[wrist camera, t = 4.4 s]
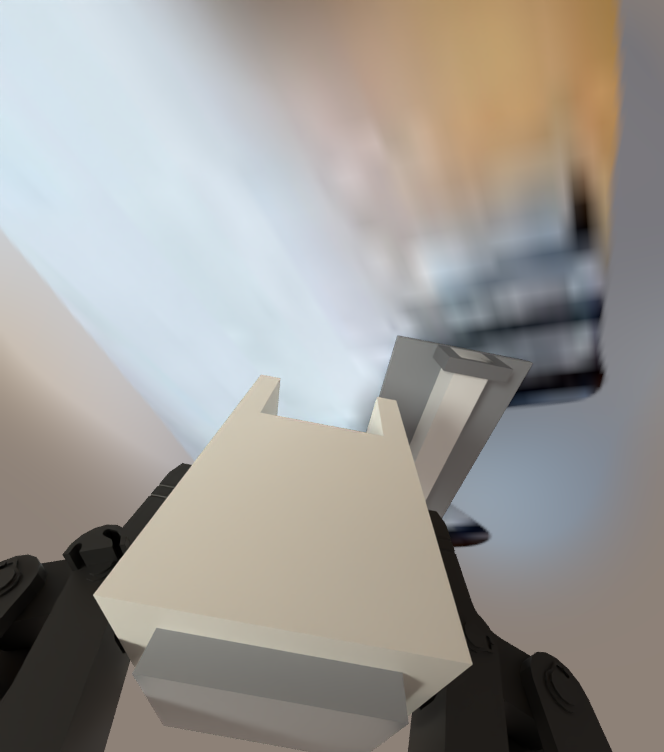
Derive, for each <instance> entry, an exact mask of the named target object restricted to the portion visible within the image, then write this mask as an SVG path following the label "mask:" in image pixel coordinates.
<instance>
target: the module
mask: <svg viewBox="0 0 664 752" xmlns="http://www.w3.org/2000/svg"><path fill="white" fill-rule="evenodd" d="M279 388H280V378H276V377H271V376H265V375H260V377H259V378H258V379H257V381H256V382H255V383H254V384H253V386H252V387H251V388H250V390H249V391H248V392H247V394H246V395H245V396H244V398H243V399H242V400H241V402H240V403H239V404H238V405H237V407H236V408H235V409H234V411H233V412H232V413H231V415H230V416H229V417H228V419H227V420H226V421H225V423H224V424H223V425H222V426H221V428H220V429H219V430H218V432H217V433H216V434H215V436H214V437H213V438H212V440H211V441H210V442H209V444H208V445H207V446H206V447H205V449H204V450H203V451H202V453H201V454H200V455H199V457H198V458H197V459H196V461H195V462H194V463H193V465H192V466H191V467H190V468H189V470H188V471H187V472H186V474H185V475H184V476H183V478H182V479H181V480H180V482H179V483H178V484H177V486H176V487H175V488H174V489H173V491H172V492H171V493H170V495H169V496H168V497H167V499H166V500H165V501H164V503H163V504H162V505H161V507H160V508H159V509H158V510H157V512H156V513H155V514H154V516H153V517H152V518H151V520H150V521H149V522H148V524H147V525H146V526H145V528H144V529H143V530H142V531H141V533H140V534H139V535H138V537H137V538H136V539H135V541H134V542H133V543H132V545H131V546H130V547H129V549H128V550H127V551H126V552H125V554H124V555H123V556H122V558H121V559H120V560H119V562H118V563H117V564H116V566H115V567H114V568H113V570H112V571H111V572H110V573H109V575H108V576H107V577H106V579H105V580H104V581H103V583H102V584H101V585H100V587H99V588H98V589H97V591H96V592H95V593H94V594H93V596H94V597H95V599H96V601H97V603H98V604H99V606H100V608H101V610H102V611H103V613H104V615H105V617H106V618H107V620H108V622H109V624H110V625H111V627H112V629H113V631H114V632H115V634H116V636H117V638H118V639H119V641H120V643H121V645H122V646H123V648H124V650H125V652H126V653H127V655H128V657H129V659H130V660H131V662H132V664H133V665H134V667H135V669H134V671H133V673H132V674H133V676H134V678H135V679H136V681H137V682H138V684H139V686H140V688H141V689H142V691H143V692H144V694H145V696H146V697H147V699H148V701H149V702H150V704H151V706H152V707H153V709H154V710H155V712H156V714H157V715H158V717H159V719H160V720H161V722H162V724H163V725H164V726H168V727H174V728H180V729H185V730H191V731H196V732H202V733H208V734H213V735H219V736H225V737H230V738H236V739H241V740H247V741H252V742H258V743H263V744H269V745H274V746H281V747H286V748H291V749H297V750H302V751H308V752H371V751H373V750H374V749H375V748H377V747H378V746H379V745H381V744H382V743H383V742H385V741H386V740H387V739H389V738H390V737H391V736H393V735H394V734H395V733H397V732H398V731H399V730H401V729H402V728H403V727H405V726H406V725H407V724H408V716H409V715H410V714H411V713H412V712H414V711H415V710H416V709H417V708H419V707H420V706H421V705H422V704H424V703H425V702H426V701H427V700H429V699H430V698H431V697H432V696H434V695H435V694H436V693H437V692H439V691H440V690H441V689H442V688H444V687H445V686H446V685H448V684H449V683H450V682H451V681H453V680H454V679H455V678H456V677H458V676H459V675H460V674H461V673H463V672H464V671H465V670H466V669H468V668H469V667H470V666H471V665H473V664H472V660H471V657H470V653H469V650H468V646H467V643H466V639H465V636H464V632H463V629H462V626H461V622H460V619H459V615H458V612H457V608H456V605H455V601H454V598H453V594H452V591H451V588H450V584H449V581H448V577H447V574H446V570H445V567H444V563H443V560H442V557H441V553H440V550H439V546H438V543H437V539H436V536H435V532H434V529H433V525H432V522H431V519H430V515H429V512H428V508H427V505H426V501H425V498H424V494H423V491H422V487H421V484H420V481H419V477H418V474H417V470H416V467H415V463H414V460H413V456H412V453H411V450H410V446H409V443H408V439H407V436H406V432H405V429H404V425H403V422H402V418H401V415H400V412H399V408H398V405H397V401H396V400H391V399H386V398H381V397H377V399H376V402H375V405H374V408H373V412H372V415H371V418H370V422H369V425H368V428H367V431H366V433H365V432H360V431H355V430H350V429H344V428H339V427H334V426H328V425H323V424H318V423H313V422H307V421H302V420H297V419H292V418H286V417H281V416H277V411H278V400H279Z"/></svg>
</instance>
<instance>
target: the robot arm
mask: <svg viewBox="0 0 664 752" xmlns="http://www.w3.org/2000/svg"><path fill="white" fill-rule="evenodd" d="M191 466H192V465H189V464H184V463H182V464H181V465H179V466H178V467H176V468H175V469H173V470H172V471H170V472H169V473H168V474H167V476H166V477H165V478H164V479H163V480H162V482H161V483H160V485H159V486H157V487H156V489H155V490H154V491H153V492H152V493H151V496H149V497H148V498H147V499H146V501H145V502H144V503H143V504H142V505H141V506H140V508H139V509H138V510H137V511H136V512H135V514H134V515H133V516H132V517H131V518H130V519H129V521H128V522H127V523H126V524H125V525H124V526H123V528H122V527H120V526H118V525H104V526H101V527H97V528H94V529H92V530H91V531H89V532H87V533H85V534H83V535H81V536H80V537H79V538H78V539H77V540H75V541H74V542H73V543H72V544H71V545H70V546H69V547H68V549H67V550H66V551H65V552H64V553H63V556H64V558H65V560H60V561H54V562H48V563H42V564H41V563H40V562H39V560H38V559H37V557H34V556H31V555H22V556H15V557H12V558H10V559H7V560H4V561H2V562H0V752H104V750H105V746H106V743H107V739H108V736H109V733H110V729H111V726H112V722H113V719H114V715H115V712H116V708H117V704H118V701H119V697H120V694H121V690H122V687H123V683H124V680H125V676H126V673H127V670H128V666H129V662H130V659H129V657H128V655H127V653H126V652H125V650H124V648H123V646H122V645H121V643H120V641H119V639H118V638H117V636H116V634H115V632H114V631H113V629H112V627H111V625H110V624H109V622H108V620H107V618H106V617H105V615H104V613H103V611H102V610H101V608H100V606H99V604H98V603H97V601H96V599H95V597H94V596H93V594H94V593H95V592H96V591H97V589H98V588H99V587H100V585H101V584H102V583H103V581H104V580H105V579H106V577H107V576H108V575H109V573H110V572H111V571H112V570H113V568H114V567H115V566H116V564H117V563H118V562H119V560H120V559H121V558H122V556H123V555H124V554H125V552H126V551H127V550H128V549H129V547H130V546H131V545H132V543H133V542H134V541H135V539H136V538H137V537H138V535H139V534H140V533H141V531H142V530H143V529H144V528H145V526H146V525H147V524H148V522H149V521H150V520H151V518H152V517H153V516H154V514H155V513H156V512H157V510H158V509H159V508H160V507H161V505H162V504H163V503H164V501H165V500H166V499H167V497H168V496H169V495H170V493H171V492H172V491H173V489H174V488H175V487H176V486H177V484H178V483H179V482H180V480H181V479H182V478H183V476H184V475H185V474H186V472H187V471H188V470H189V468H190V467H191ZM428 512H429V515H430V519H431V522H432V525H433V529H434V532H435V536H436V539H437V543H438V546H439V550H440V553H441V557H442V560H443V563H444V567H445V570H446V574H447V577H448V581H449V584H450V588H451V591H452V594H453V598H454V601H455V605H456V608H457V612H458V615H459V619H460V622H461V626H462V629H463V632H464V636H465V639H466V643H467V646H468V650H469V653H470V657H471V660H472V664H473V665H471V666H470V667H469V668H468V669H466V670H465V671H464V672H463V673H461V674H460V675H459V676H458V677H456V678H455V679H454V680H453V681H451V682H450V683H449V684H448V685H446V686H445V687H444V688H442V689H441V690H440V691H439V692H437V693H436V694H435V695H434V696H432V697H431V698H430V699H429V700H427V701H426V702H425V703H424V704H422V705H421V706H420V707H419V708H417V709H416V710H415V711H414V712H412V718H411V729H410V737H409V747H408V752H612V750H611V748H610V746H609V743H608V741H607V739H606V737H605V735H604V732H603V730H602V728H601V726H600V724H599V721H598V719H597V717H596V715H595V713H594V710H593V708H592V706H591V704H590V702H589V699H588V698H587V696H586V694H585V692H584V691H583V689H582V687H581V685H580V683H579V682H578V681H577V679H576V678H575V677H574V676H573V674H572V673H571V672H570V671H569V669H568V668H567V667H565V666H564V665H563V664H562V663H561V662H560V661H559V660H558V659H557V658H555V657H553V656H551V655H549V654H548V653H545V652H536V653H535V654H534V655H532V656H530V655H528V654H526V653H525V652H523V651H521V650H519V649H518V648H516V647H514V646H513V645H511V644H509V643H508V642H506V641H504V640H503V639H501V638H500V637H498V636H497V635H496V634H494V633H493V632H492V631H491V630H490V628H489V626H488V625H487V624H486V623H485V622H484V620H483V619H482V618H481V617H480V616H479V615H478V614H477V612H476V611H475V608H474V606H473V604H472V601H471V598H470V595H469V592H468V589H467V586H466V583H465V581H464V577H463V575H462V571H461V568H460V566H459V562H458V559H457V557H456V554H455V553H454V551H455V550H454V547H453V544H452V542H451V541H450V539H451V538H450V535H449V532H448V529H447V526H446V524H445V523H444V521H443V520H442V518H441V517H440V515H439V514H438V512H437V511H432V510H428Z"/></svg>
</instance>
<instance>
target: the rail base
mask: <svg viewBox="0 0 664 752" xmlns="http://www.w3.org/2000/svg"><path fill="white" fill-rule="evenodd" d="M532 364H533V363H532V362H530V361H526V360H521V359H516V358H511V357H506V356H501V355H495V354H490V353H485V352H480V351H475V350H470V349H465V348H460V347H455V346H449V345H444V344H439V343H434V342H429V341H424V340H419V339H414V338H409V337H403V336H397V339H396V342H395V346H394V349H393V352H392V355H391V359H390V362H389V365H388V369H387V372H386V375H385V379H384V382H383V385H382V388H381V392H380V395H379V397H381V398H386V399H391V400H396V401H397V405H398V408H399V412H400V415H401V418H402V422H403V425H404V429H405V432H406V436H407V439H408V443H409V446H410V450H411V453H412V456H413V460H414V463H415V467H416V470H417V474H418V477H419V481H420V484H421V487H422V491H423V494H424V498H425V501H426V505H427V508H428V510H432V511H437V512H438V514H439V515H440V517H441V518H442V517H443V515H444V514H445V512H446V510H447V509H448V507H449V505H450V503H451V502H452V500H453V498H454V497H455V495H456V493H457V491H458V490H459V488H460V486H461V485H462V483H463V481H464V479H465V478H466V476H467V474H468V473H469V471H470V469H471V468H472V466H473V464H474V462H475V461H476V459H477V457H478V456H479V454H480V452H481V450H482V449H483V447H484V445H485V444H486V442H487V440H488V439H489V437H490V435H491V433H492V432H493V430H494V428H495V427H496V425H497V423H498V421H499V420H500V418H501V417H502V415H503V413H504V411H505V410H506V408H507V406H508V405H509V403H510V401H511V399H512V398H513V396H514V394H515V393H516V391H517V389H518V388H519V386H520V384H521V382H522V381H523V379H524V377H525V376H526V374H527V372H528V371H529V369H530V367H531V365H532Z"/></svg>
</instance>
